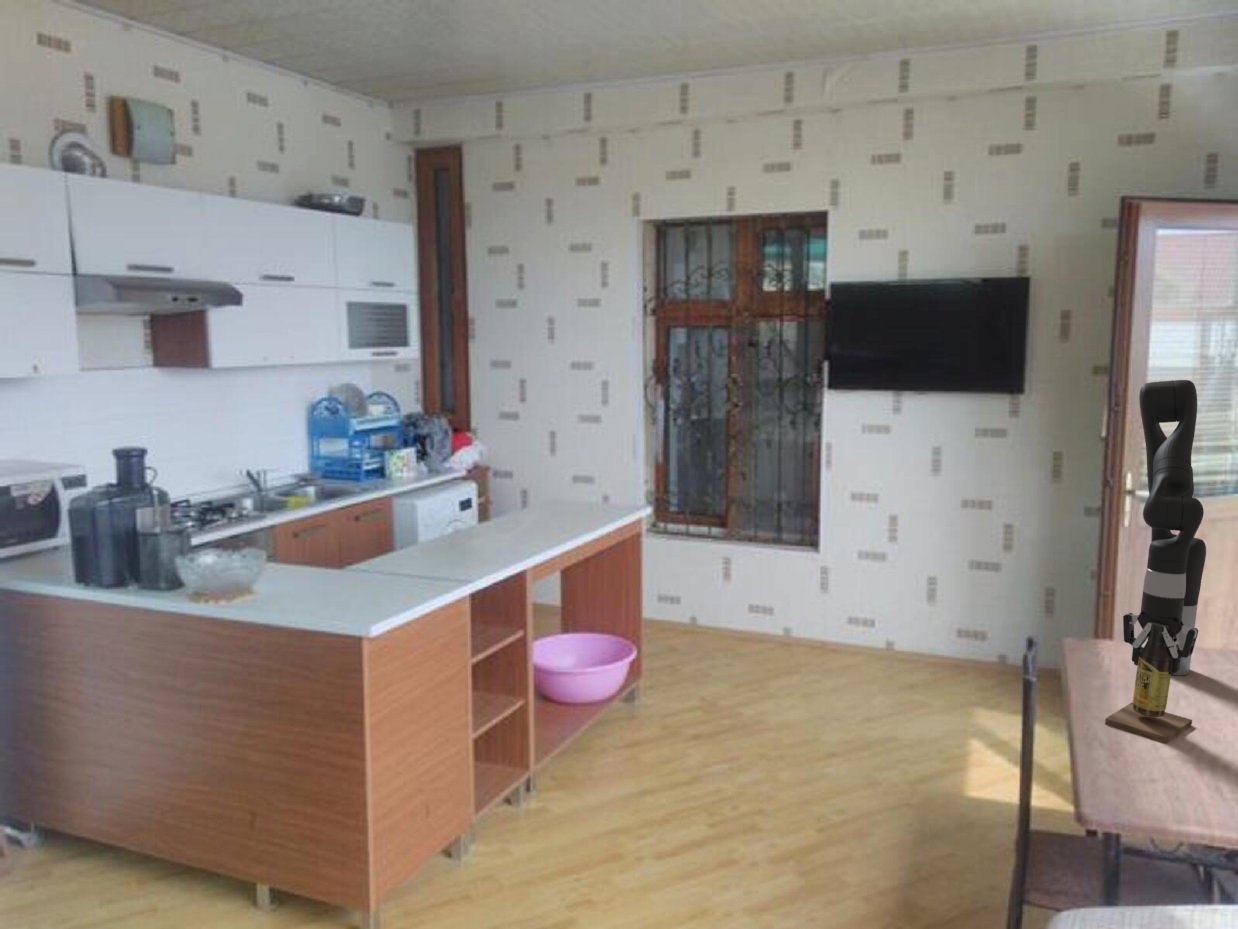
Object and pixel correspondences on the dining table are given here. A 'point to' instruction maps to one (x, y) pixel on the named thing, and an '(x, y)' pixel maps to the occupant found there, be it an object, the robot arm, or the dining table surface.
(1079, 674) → the dining table surface
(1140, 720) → the walnut board
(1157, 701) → the sauce bottle
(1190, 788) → the dining table surface
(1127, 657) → the dining table surface
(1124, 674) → the dining table surface
